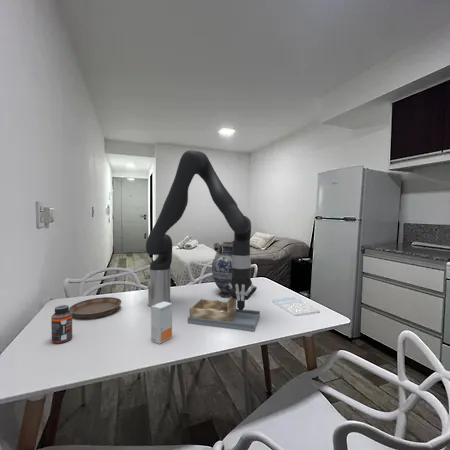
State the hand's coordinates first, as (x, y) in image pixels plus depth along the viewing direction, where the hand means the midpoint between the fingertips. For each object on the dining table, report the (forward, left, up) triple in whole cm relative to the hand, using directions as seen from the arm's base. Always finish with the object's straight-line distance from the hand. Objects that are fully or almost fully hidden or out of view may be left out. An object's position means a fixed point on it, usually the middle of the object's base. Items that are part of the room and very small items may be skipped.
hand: (241, 309), depth 103 cm
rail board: (-7, 0, -5) cm, 8 cm away
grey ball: (-7, -3, -3) cm, 8 cm away
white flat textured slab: (+20, +23, -6) cm, 31 cm away
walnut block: (-7, +3, -3) cm, 8 cm away
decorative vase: (-14, +33, -5) cm, 36 cm away
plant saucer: (-64, -7, -5) cm, 64 cm away
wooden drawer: (-11, 0, -4) cm, 12 cm away
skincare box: (-23, -22, -5) cm, 32 cm away
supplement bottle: (-55, -32, -5) cm, 63 cm away
